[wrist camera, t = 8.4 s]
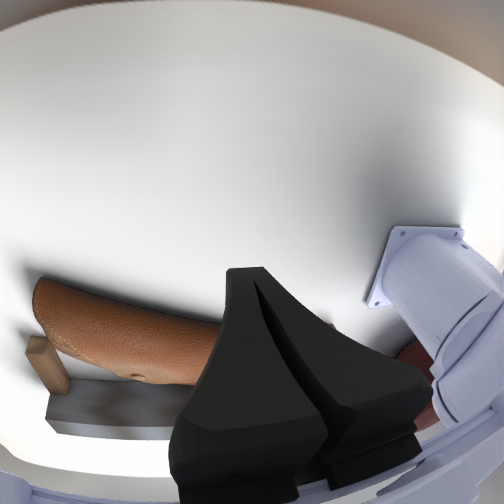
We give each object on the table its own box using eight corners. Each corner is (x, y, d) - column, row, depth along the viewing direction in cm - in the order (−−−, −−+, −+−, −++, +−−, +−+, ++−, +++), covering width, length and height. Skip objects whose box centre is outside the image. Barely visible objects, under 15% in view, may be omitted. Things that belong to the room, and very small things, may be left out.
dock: (333, 324, 26) (356, 366, 22) (311, 382, 31) (326, 419, 27) (31, 336, 20) (15, 381, 16) (63, 393, 25) (57, 433, 21)
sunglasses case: (42, 346, 21) (21, 376, 15) (53, 270, 22) (30, 279, 16) (227, 384, 28) (254, 417, 22) (245, 317, 28) (277, 337, 22)
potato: (348, 394, 35) (378, 460, 26) (392, 322, 28) (444, 399, 20) (409, 378, 38) (441, 432, 29) (454, 311, 31) (501, 369, 23)
